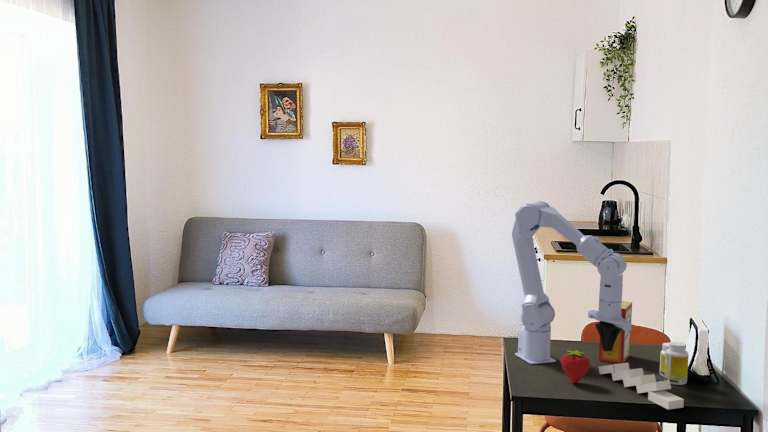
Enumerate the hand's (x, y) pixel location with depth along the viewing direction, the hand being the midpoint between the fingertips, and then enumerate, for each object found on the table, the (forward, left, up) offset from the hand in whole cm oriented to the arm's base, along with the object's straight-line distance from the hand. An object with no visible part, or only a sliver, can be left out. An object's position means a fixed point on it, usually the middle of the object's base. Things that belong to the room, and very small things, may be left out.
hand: (607, 350), depth 204 cm
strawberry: (+5, -13, -6) cm, 15 cm away
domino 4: (+20, 0, -5) cm, 20 cm away
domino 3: (+15, 0, -5) cm, 16 cm away
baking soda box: (-11, +10, -7) cm, 16 cm away
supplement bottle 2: (+11, +13, -7) cm, 18 cm away
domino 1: (+5, 0, -5) cm, 8 cm away
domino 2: (+10, 0, -5) cm, 12 cm away
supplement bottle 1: (+6, +15, -7) cm, 18 cm away
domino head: (0, 0, -5) cm, 5 cm away
